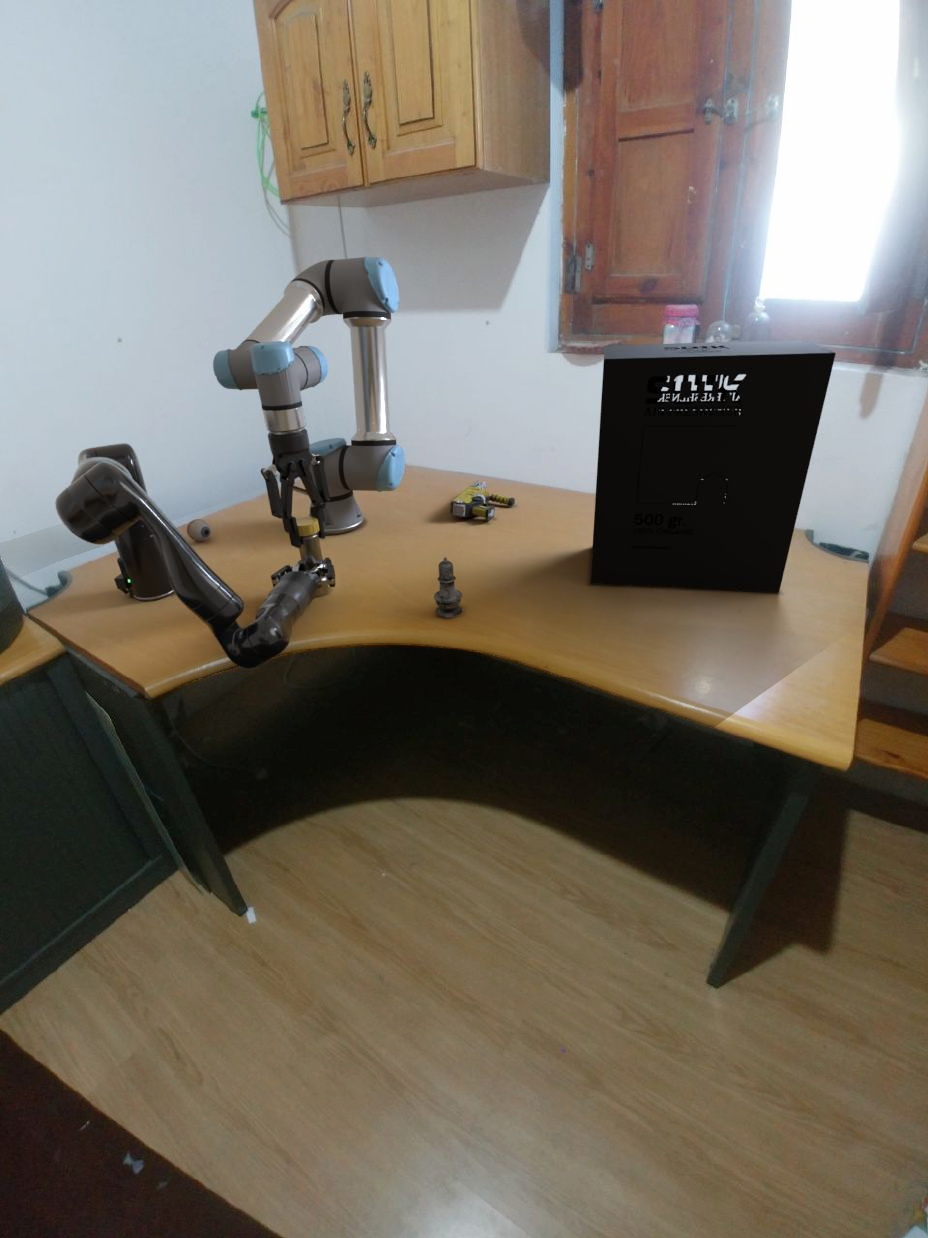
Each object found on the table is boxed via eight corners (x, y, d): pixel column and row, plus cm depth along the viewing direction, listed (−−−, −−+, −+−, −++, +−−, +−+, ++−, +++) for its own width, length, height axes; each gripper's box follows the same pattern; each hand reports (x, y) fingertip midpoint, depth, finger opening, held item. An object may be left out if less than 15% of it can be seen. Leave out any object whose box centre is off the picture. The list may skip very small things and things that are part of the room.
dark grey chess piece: (460, 618, 120) (456, 564, 114) (431, 617, 121) (426, 562, 115) (465, 604, 125) (462, 551, 119) (438, 603, 126) (434, 550, 120)
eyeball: (200, 546, 160) (194, 525, 157) (185, 542, 163) (179, 521, 160) (219, 538, 165) (213, 517, 162) (204, 535, 168) (198, 514, 165)
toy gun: (523, 485, 181) (476, 478, 185) (501, 509, 161) (448, 500, 165) (521, 500, 184) (475, 493, 187) (499, 525, 163) (447, 517, 167)
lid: (323, 526, 129) (321, 516, 128) (314, 536, 124) (312, 525, 123) (298, 526, 129) (296, 516, 128) (289, 536, 125) (287, 526, 124)
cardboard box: (758, 552, 140) (802, 339, 117) (778, 592, 123) (835, 352, 100) (592, 546, 147) (604, 345, 125) (590, 583, 130) (603, 358, 108)
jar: (308, 597, 132) (294, 530, 124) (308, 589, 136) (294, 523, 128) (328, 594, 132) (316, 528, 125) (328, 586, 136) (316, 520, 128)
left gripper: (322, 580, 116) (346, 545, 131) (251, 580, 117) (282, 545, 132) (328, 614, 120) (351, 576, 134) (260, 614, 121) (289, 576, 136)
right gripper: (314, 418, 124) (332, 524, 136) (233, 437, 113) (260, 551, 125) (337, 422, 120) (353, 532, 131) (254, 442, 108) (280, 560, 120)
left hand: (317, 561), depth 133 cm, fingers closed on jar, 4 cm apart
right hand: (308, 541), depth 128 cm, fingers closed on lid, 5 cm apart
